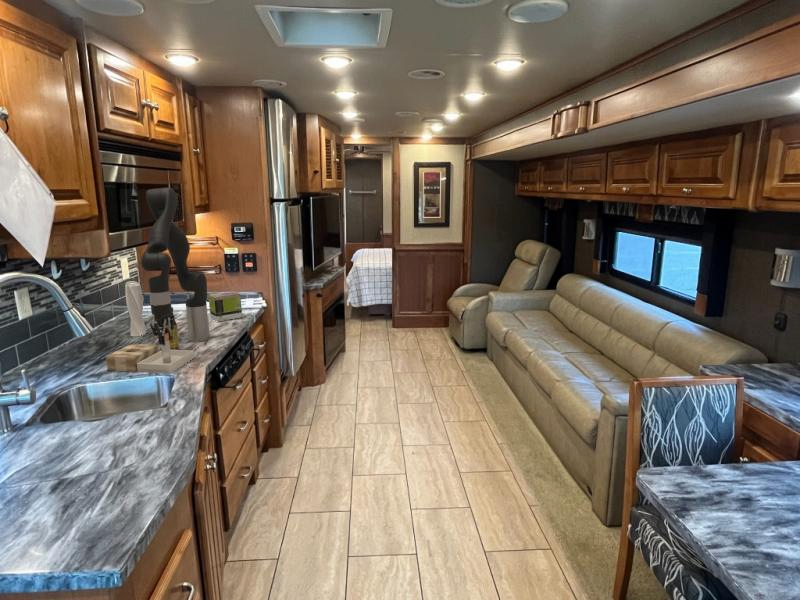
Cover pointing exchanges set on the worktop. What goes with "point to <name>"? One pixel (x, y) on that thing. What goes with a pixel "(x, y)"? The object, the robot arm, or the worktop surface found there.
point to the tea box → (225, 306)
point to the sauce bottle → (174, 336)
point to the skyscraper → (135, 308)
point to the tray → (158, 366)
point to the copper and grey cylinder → (166, 349)
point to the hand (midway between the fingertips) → (165, 342)
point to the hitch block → (130, 357)
